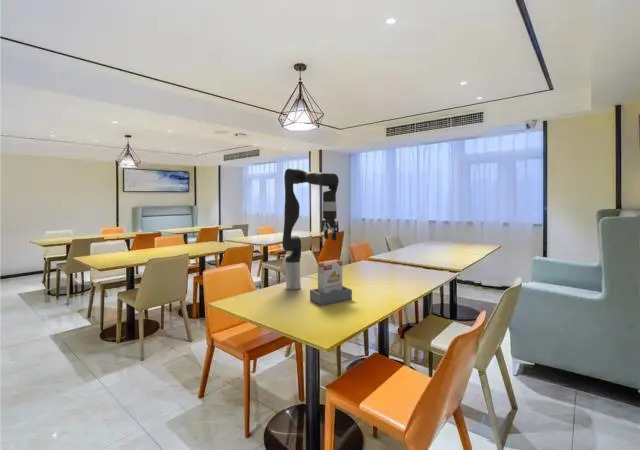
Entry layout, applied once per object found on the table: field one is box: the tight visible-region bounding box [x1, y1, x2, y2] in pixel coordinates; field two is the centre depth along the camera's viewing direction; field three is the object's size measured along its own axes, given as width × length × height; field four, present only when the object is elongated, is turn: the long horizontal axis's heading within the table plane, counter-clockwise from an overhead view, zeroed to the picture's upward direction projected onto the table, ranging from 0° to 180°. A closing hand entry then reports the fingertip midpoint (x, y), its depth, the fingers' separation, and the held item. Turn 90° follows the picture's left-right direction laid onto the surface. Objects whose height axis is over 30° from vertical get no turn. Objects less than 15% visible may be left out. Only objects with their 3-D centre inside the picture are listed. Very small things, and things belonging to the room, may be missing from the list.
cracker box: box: [317, 259, 343, 294], centre depth 187 cm, size 14×6×21 cm, turn 131°
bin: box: [309, 285, 353, 307], centre depth 187 cm, size 12×20×6 cm, turn 119°
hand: (330, 239), depth 185 cm, fingers open, 8 cm apart
